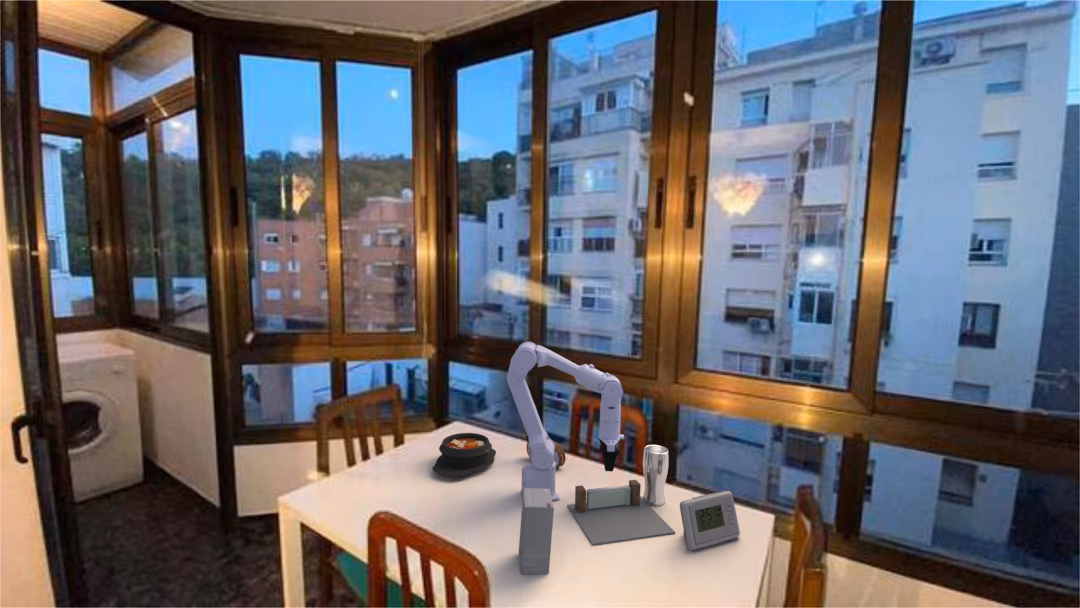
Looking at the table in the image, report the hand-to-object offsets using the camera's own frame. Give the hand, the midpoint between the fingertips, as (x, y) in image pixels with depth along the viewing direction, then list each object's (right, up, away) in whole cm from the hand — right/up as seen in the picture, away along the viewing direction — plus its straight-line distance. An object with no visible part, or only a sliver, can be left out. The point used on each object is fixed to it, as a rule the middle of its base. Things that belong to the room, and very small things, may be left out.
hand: (608, 466), depth 138 cm
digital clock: (+22, -12, -19) cm, 31 cm away
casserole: (-44, -7, +21) cm, 49 cm away
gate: (-1, -9, -4) cm, 10 cm away
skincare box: (-20, -12, -29) cm, 38 cm away
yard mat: (+1, -10, -10) cm, 15 cm away
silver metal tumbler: (+13, -10, 0) cm, 16 cm away
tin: (-18, -7, +23) cm, 30 cm away
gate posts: (-1, -10, -4) cm, 11 cm away
